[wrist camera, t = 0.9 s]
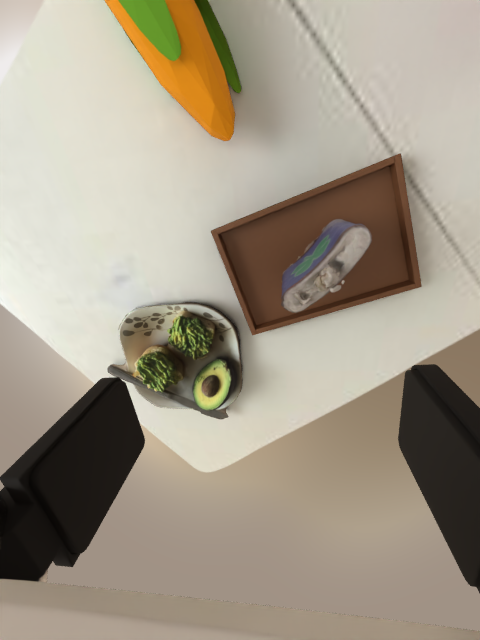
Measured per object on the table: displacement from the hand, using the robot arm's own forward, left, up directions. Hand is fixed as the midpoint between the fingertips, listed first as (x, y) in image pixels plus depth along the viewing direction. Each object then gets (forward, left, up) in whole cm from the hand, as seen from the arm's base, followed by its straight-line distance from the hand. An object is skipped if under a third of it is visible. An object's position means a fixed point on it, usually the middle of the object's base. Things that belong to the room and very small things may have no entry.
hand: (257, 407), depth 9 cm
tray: (-5, +1, -25) cm, 25 cm away
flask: (-5, +1, -25) cm, 25 cm away
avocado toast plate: (+15, +9, -25) cm, 31 cm away
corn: (+1, -22, -25) cm, 33 cm away
